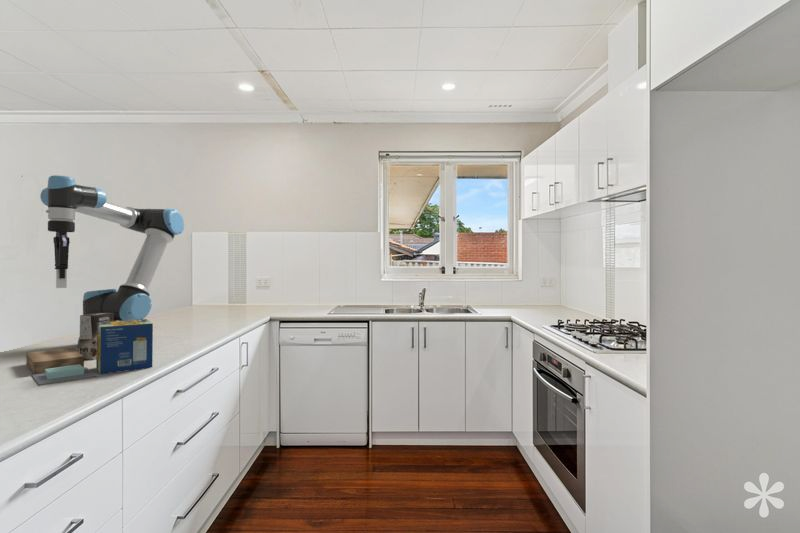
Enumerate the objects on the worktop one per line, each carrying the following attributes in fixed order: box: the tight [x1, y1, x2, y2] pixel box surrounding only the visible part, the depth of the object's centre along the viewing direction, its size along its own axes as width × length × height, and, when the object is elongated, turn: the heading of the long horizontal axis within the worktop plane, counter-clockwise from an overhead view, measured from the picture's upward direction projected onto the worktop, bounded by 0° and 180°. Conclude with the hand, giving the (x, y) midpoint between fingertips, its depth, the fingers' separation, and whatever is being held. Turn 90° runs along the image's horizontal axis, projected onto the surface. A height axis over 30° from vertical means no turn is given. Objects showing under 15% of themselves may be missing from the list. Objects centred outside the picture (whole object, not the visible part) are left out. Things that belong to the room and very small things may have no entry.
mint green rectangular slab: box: [45, 364, 85, 379], centre depth 138 cm, size 9×6×2 cm, turn 136°
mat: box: [31, 366, 97, 386], centre depth 138 cm, size 14×14×1 cm
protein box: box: [95, 318, 154, 375], centre depth 149 cm, size 10×15×16 cm
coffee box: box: [78, 313, 114, 361], centre depth 163 cm, size 9×6×16 cm
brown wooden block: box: [25, 347, 85, 375], centre depth 149 cm, size 13×18×4 cm
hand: (61, 287), depth 154 cm, fingers closed
